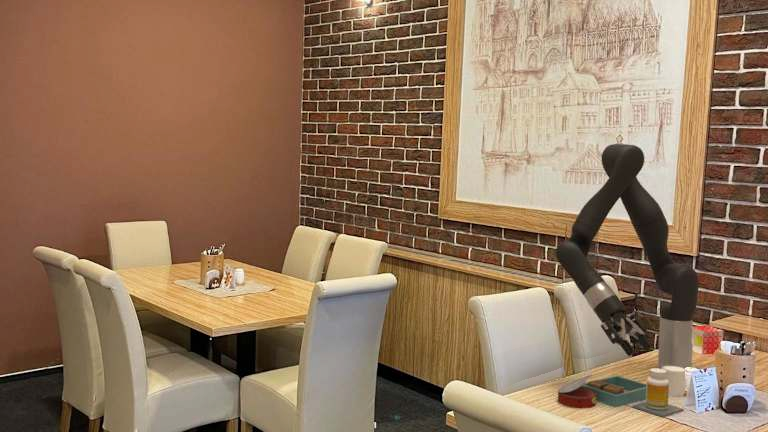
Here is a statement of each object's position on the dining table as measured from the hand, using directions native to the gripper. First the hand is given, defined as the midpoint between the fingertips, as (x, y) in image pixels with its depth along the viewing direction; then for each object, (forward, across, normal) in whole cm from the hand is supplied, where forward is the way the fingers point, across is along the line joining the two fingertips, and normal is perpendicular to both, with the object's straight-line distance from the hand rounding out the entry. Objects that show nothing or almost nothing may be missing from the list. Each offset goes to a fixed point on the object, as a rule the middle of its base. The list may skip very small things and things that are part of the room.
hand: (640, 351), depth 197 cm
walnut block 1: (+3, -4, +17) cm, 18 cm away
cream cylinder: (+11, +16, +9) cm, 22 cm away
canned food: (+2, -12, +18) cm, 22 cm away
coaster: (+14, 0, +6) cm, 15 cm away
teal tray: (+5, +1, +15) cm, 16 cm away
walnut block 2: (+6, -4, +14) cm, 16 cm away
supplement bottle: (+13, 0, +6) cm, 15 cm away
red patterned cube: (-1, +70, +22) cm, 73 cm away
